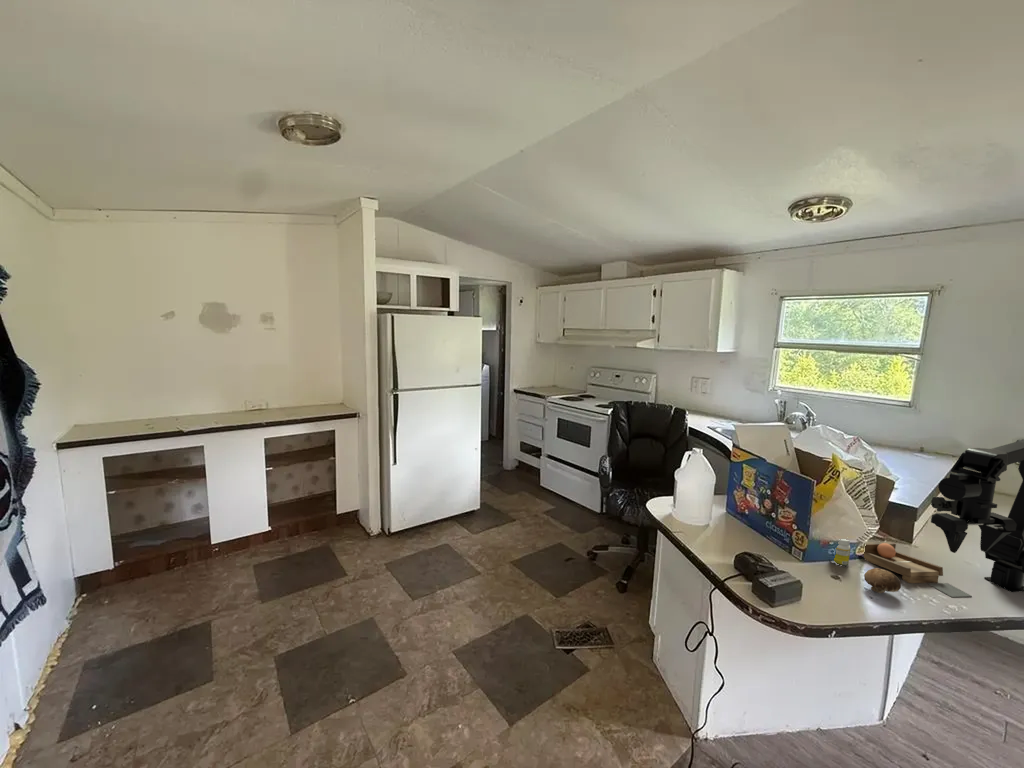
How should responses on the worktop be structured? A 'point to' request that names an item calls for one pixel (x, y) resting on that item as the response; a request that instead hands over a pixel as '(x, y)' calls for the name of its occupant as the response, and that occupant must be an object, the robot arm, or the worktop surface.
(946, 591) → the coaster
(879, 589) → the mushroom
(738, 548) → the worktop surface
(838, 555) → the supplement bottle
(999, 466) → the robot arm
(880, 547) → the ball
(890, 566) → the tray
